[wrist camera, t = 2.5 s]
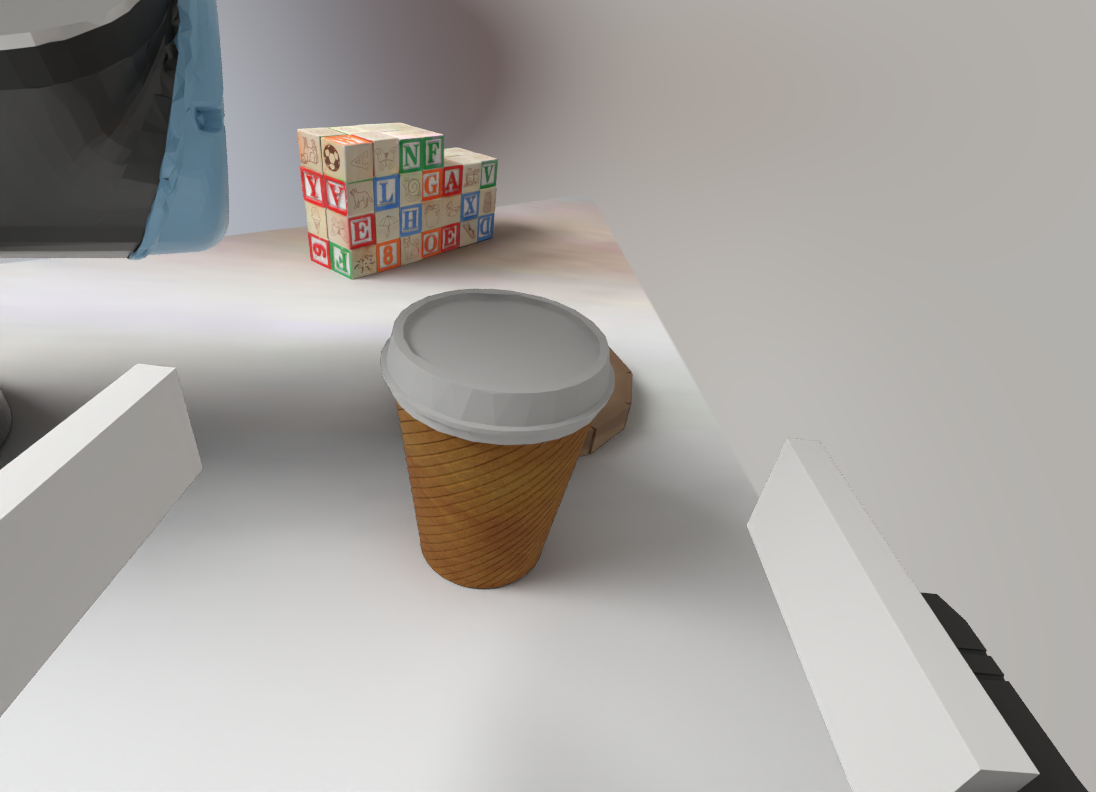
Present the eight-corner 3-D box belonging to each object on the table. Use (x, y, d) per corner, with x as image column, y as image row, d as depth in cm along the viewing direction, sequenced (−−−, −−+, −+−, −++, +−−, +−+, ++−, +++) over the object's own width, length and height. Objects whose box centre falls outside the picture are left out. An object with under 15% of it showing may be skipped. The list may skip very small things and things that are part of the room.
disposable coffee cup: (592, 506, 32) (639, 318, 25) (538, 651, 24) (587, 433, 17) (441, 456, 33) (449, 268, 27) (346, 576, 26) (324, 352, 19)
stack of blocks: (455, 224, 70) (459, 118, 64) (493, 239, 68) (502, 130, 61) (309, 261, 55) (294, 126, 48) (351, 281, 52) (343, 142, 46)
